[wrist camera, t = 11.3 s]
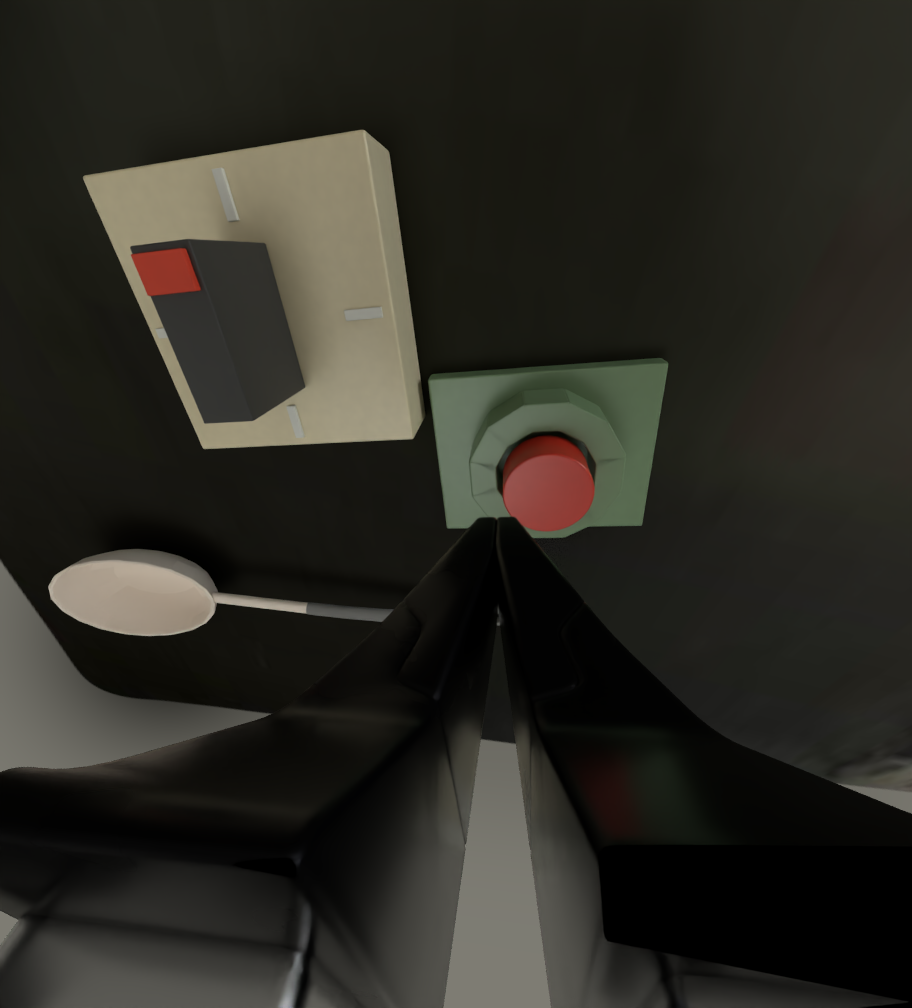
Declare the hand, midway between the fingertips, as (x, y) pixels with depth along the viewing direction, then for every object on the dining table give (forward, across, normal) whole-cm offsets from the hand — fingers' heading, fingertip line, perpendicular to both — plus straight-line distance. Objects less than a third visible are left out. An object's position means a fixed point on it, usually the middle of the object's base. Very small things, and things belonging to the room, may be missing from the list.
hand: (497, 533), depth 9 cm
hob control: (+11, +9, -4) cm, 15 cm away
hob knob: (+8, +9, -4) cm, 13 cm away
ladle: (+12, +13, +12) cm, 21 cm away
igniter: (+11, -2, +3) cm, 12 cm away
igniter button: (+9, -2, +3) cm, 9 cm away
